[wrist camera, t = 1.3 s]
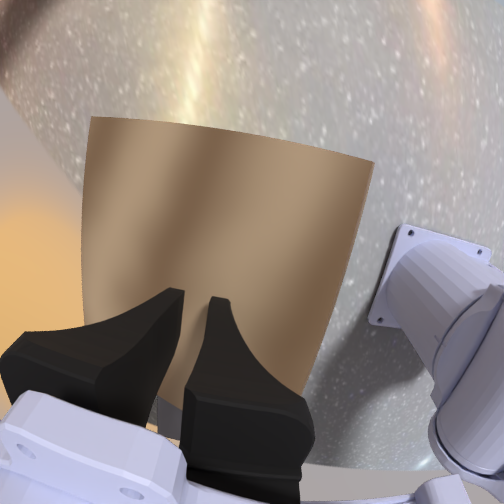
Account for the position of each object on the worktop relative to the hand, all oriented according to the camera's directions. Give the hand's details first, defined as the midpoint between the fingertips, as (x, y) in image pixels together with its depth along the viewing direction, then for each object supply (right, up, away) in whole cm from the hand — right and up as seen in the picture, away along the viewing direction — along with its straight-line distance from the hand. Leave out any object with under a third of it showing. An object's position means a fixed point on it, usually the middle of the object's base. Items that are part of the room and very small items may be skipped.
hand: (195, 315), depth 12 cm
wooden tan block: (-1, +1, +2) cm, 3 cm away
